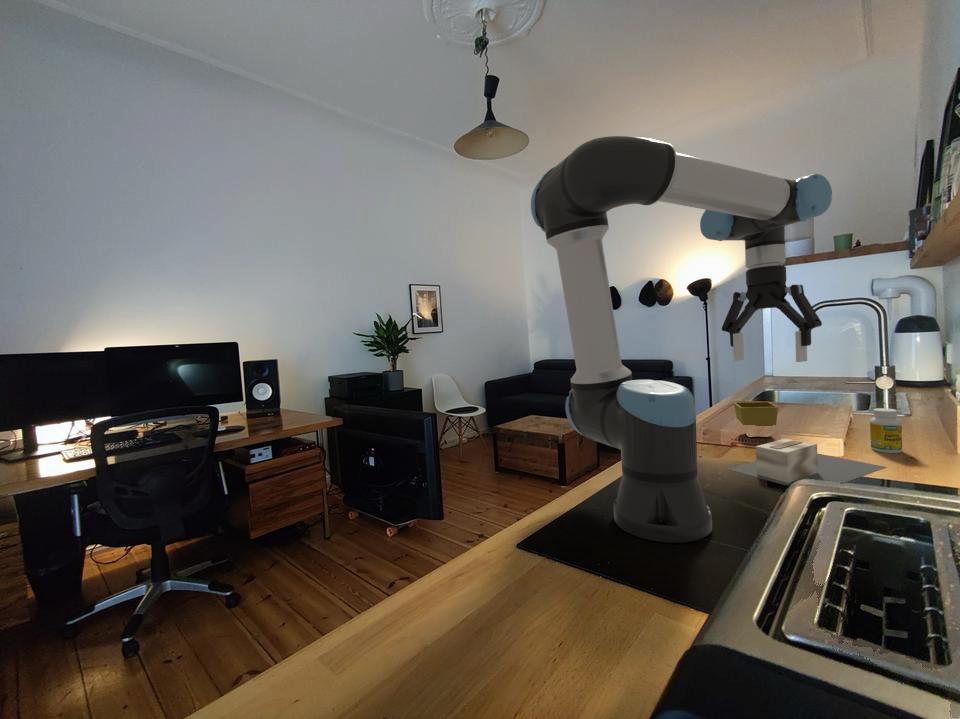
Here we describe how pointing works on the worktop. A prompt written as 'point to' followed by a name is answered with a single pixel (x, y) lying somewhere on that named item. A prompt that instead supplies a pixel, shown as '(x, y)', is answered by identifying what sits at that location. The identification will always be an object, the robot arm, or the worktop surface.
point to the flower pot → (756, 413)
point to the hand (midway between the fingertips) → (768, 360)
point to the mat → (822, 469)
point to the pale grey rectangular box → (787, 460)
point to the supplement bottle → (886, 431)
